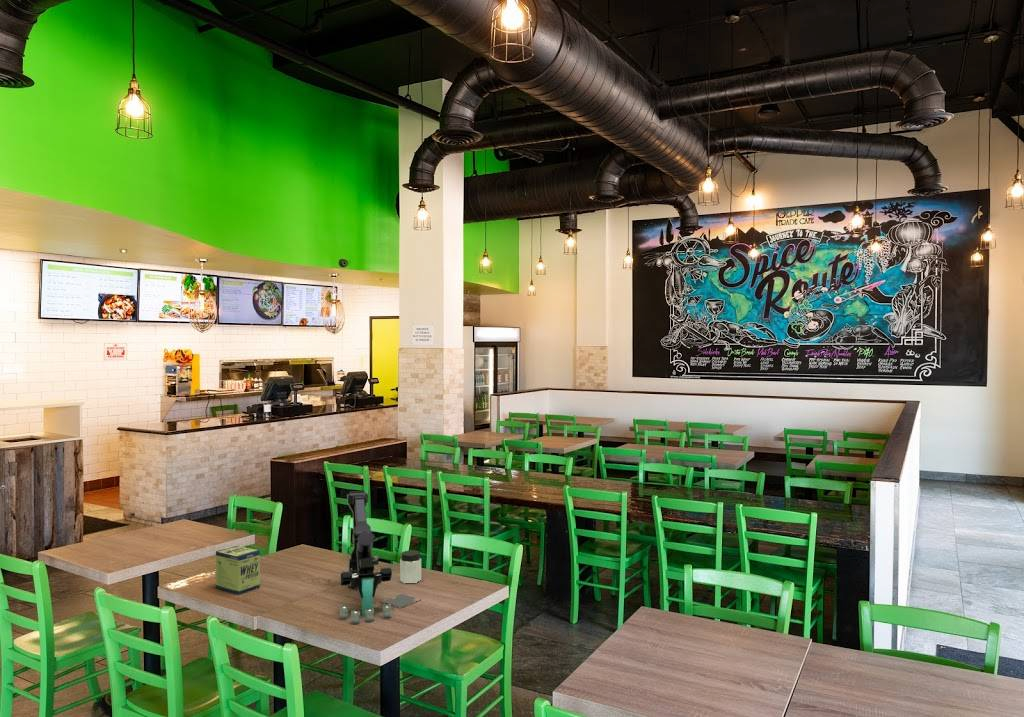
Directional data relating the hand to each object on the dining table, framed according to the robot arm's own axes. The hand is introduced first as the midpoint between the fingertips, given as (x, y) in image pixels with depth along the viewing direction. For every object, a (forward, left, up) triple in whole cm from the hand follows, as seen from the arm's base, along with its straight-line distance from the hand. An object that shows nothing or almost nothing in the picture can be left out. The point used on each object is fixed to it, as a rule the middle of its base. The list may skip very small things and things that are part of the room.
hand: (367, 597), depth 259 cm
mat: (-1, +18, -7) cm, 19 cm away
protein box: (-67, -11, -7) cm, 68 cm away
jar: (-16, +38, -7) cm, 42 cm away
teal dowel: (-1, +1, -7) cm, 7 cm away
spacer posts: (+1, -2, -7) cm, 7 cm away
